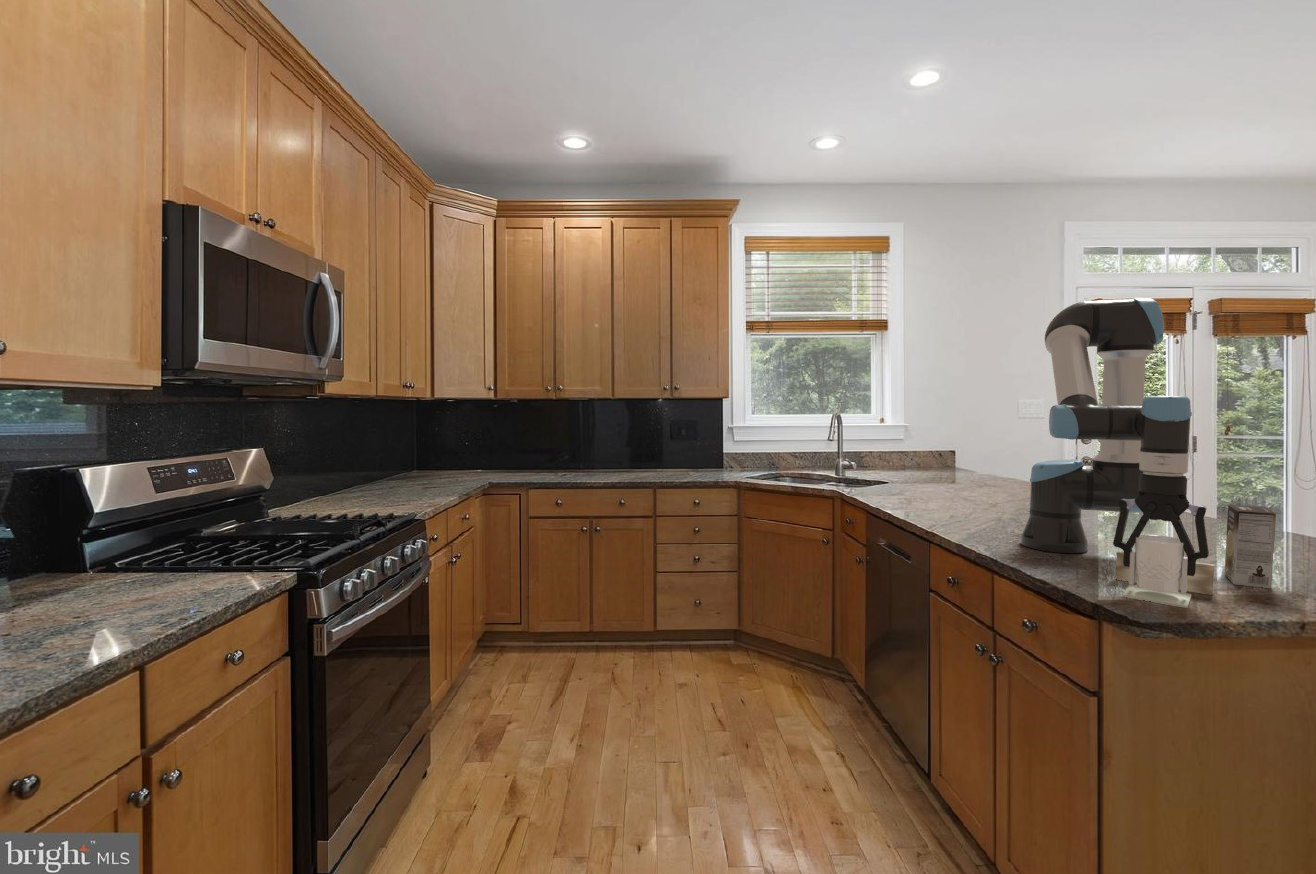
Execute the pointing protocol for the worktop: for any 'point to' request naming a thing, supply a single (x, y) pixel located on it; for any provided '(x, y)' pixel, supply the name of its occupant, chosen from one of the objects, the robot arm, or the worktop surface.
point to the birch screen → (1196, 583)
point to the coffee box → (1250, 545)
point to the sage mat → (1158, 596)
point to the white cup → (1159, 563)
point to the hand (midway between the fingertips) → (1157, 586)
